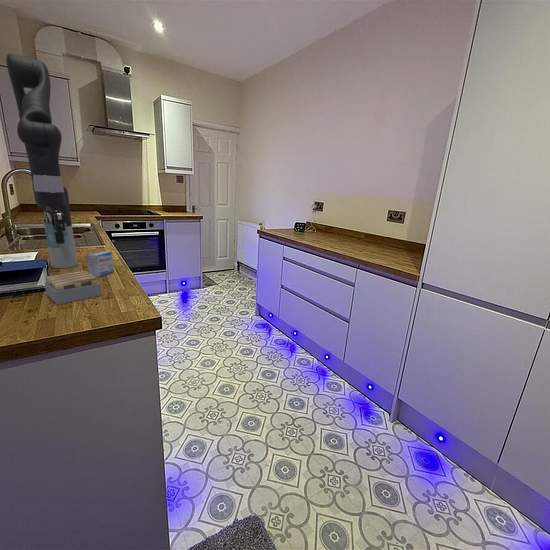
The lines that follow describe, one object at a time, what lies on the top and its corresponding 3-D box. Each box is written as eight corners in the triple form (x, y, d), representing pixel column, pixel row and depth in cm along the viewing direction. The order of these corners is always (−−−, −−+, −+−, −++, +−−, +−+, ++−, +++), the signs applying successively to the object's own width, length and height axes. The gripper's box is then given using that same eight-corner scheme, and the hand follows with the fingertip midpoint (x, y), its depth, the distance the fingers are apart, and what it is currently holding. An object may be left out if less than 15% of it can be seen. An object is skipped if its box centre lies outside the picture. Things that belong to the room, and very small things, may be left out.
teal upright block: (47, 245, 98) (43, 222, 96) (65, 244, 102) (61, 221, 99) (51, 248, 95) (47, 224, 93) (69, 246, 99) (66, 223, 96)
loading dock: (46, 294, 92) (44, 282, 91) (88, 286, 101) (87, 275, 100) (57, 304, 84) (55, 292, 83) (101, 295, 93) (100, 283, 92)
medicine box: (99, 277, 111) (96, 255, 109) (89, 276, 112) (86, 254, 110) (114, 272, 119) (112, 251, 116) (105, 271, 119) (102, 250, 117)
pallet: (46, 282, 91) (45, 276, 90) (86, 276, 99) (85, 270, 98) (56, 291, 84) (55, 284, 83) (98, 283, 92) (97, 277, 92)
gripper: (29, 189, 94) (39, 240, 99) (40, 191, 86) (50, 247, 91) (57, 189, 100) (64, 238, 105) (70, 191, 91) (78, 244, 96)
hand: (58, 241), depth 98 cm, fingers closed on teal upright block, 5 cm apart
